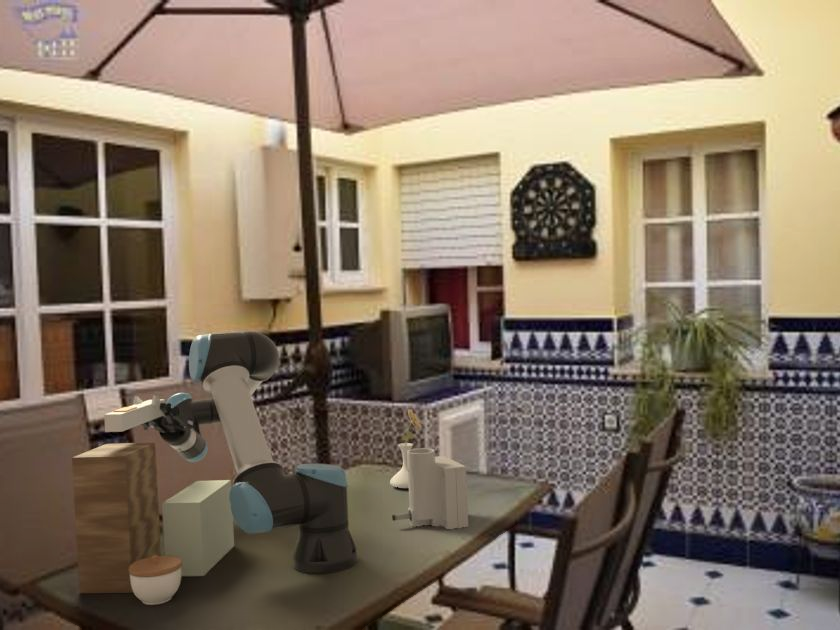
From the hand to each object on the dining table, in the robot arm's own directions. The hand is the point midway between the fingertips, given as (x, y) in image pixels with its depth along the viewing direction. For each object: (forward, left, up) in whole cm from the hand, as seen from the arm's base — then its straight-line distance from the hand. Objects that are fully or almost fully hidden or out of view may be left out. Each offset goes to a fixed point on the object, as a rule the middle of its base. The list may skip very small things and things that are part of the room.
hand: (144, 401), depth 202 cm
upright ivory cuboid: (-13, -7, -39) cm, 41 cm away
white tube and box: (-30, -64, -39) cm, 81 cm away
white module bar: (-3, +3, -5) cm, 7 cm away
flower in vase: (+7, -88, -39) cm, 97 cm away
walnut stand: (-12, +12, -39) cm, 42 cm away
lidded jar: (-30, +11, -39) cm, 50 cm away
